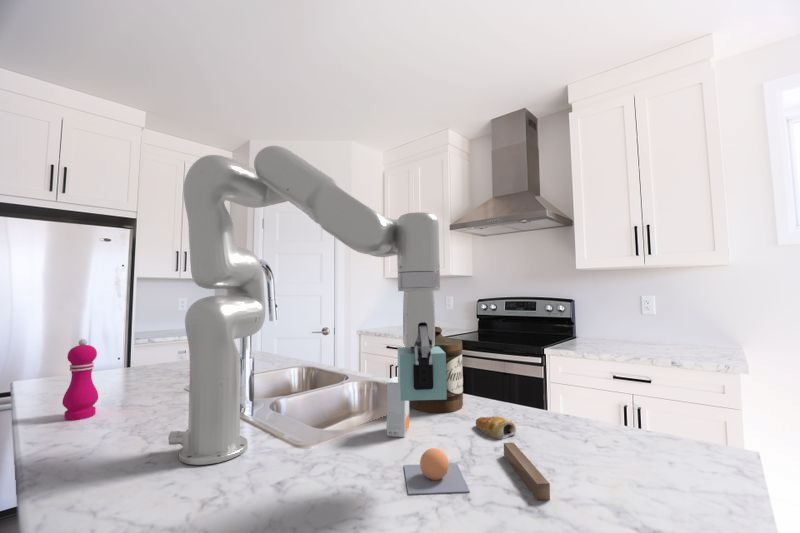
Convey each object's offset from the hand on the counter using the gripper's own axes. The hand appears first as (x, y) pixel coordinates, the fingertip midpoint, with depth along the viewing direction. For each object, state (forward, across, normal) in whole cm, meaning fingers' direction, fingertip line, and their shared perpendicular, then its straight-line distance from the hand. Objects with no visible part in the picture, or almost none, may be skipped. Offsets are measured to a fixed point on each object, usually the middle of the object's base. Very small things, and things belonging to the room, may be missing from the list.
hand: (420, 382), depth 68 cm
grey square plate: (+17, 0, +2) cm, 17 cm away
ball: (+14, 0, +2) cm, 14 cm away
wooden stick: (+17, 0, +18) cm, 25 cm away
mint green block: (+2, 0, 0) cm, 2 cm away
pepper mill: (+16, -38, -85) cm, 95 cm away
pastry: (+17, -21, +19) cm, 33 cm away
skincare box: (+17, -22, -3) cm, 28 cm away
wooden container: (+17, -42, +9) cm, 46 cm away
